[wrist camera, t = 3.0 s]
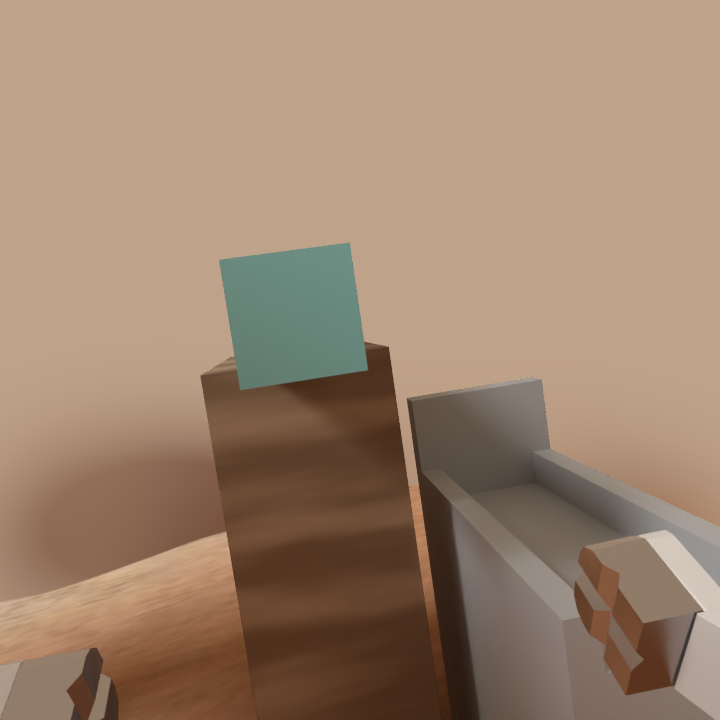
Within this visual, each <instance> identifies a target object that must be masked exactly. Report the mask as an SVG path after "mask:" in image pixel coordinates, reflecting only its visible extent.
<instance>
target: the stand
mask: <svg viewBox="0 0 720 720" xmlns="http://www.w3.org/2000/svg"><path fill="white" fill-rule="evenodd" d="M364 345H365V352H366V359H367V366H368V370H366V371H359V372H353V373H347V374H340V375H334V376H328V377H321V378H315V379H309V380H302V381H296V382H289V383H283V384H277V385H270V386H264V387H258V388H251V389H245V390H240V386H239V379H238V373H237V367H236V361H235V357H231V358H229V359H227V360H226V361H224V362H222V363H221V364H219V365H217V366H216V367H214V368H213V369H211V370H209V371H208V372H206V373H204V374H203V375H201V381H202V387H203V393H204V399H205V405H206V411H207V417H208V423H209V429H210V435H211V441H212V447H213V454H214V459H215V465H216V471H217V478H218V484H219V489H220V495H221V502H222V508H223V514H224V520H225V526H226V532H227V538H228V544H229V550H230V556H231V562H232V568H233V574H234V580H235V586H236V592H237V598H238V604H239V610H240V616H241V622H242V628H243V634H244V640H245V646H246V652H247V658H248V664H249V670H250V676H251V682H252V688H253V694H254V700H255V706H256V712H257V718H258V720H442V719H441V712H440V705H439V698H438V691H437V684H436V677H435V670H434V663H433V656H432V649H431V642H430V635H429V628H428V621H427V614H426V607H425V600H424V592H423V585H422V578H421V571H420V564H419V557H418V550H417V543H416V536H415V529H414V522H413V515H412V508H411V501H410V494H409V487H408V480H407V473H406V465H405V458H404V451H403V445H402V438H401V431H400V423H399V416H398V409H397V402H396V395H395V388H394V382H393V374H392V367H391V360H390V353H389V347H386V346H381V345H377V344H372V343H367V342H364Z"/></svg>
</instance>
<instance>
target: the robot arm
mask: <svg viewBox="0 0 720 720" xmlns="http://www.w3.org/2000/svg"><path fill="white" fill-rule="evenodd" d="M578 563H579V565H580V566H581V568H582V569H583V572H582V573H581V574H580V575H579V576H578V577H577V579H576V580H575V587H574V597H575V602H576V607H577V611H578V613H579V615H580V618H581V620H582V623H583V624H584V626H585V628H586V630H587V631H588V633H589V635H590V636H592V637H593V638H595V639H597V640H598V641H600V642H601V643H603V644H605V651H604V660H605V662H606V664H607V665H608V667H609V669H610V670H611V672H612V674H613V675H614V677H615V679H616V680H617V682H618V684H619V685H620V687H621V689H622V690H623V692H624V694H625V695H626V696H627V695H631V694H636V693H641V692H646V691H651V690H656V689H660V688H665V687H670V686H675V687H674V689H675V690H677V691H678V692H679V693H681V694H682V695H683V696H685V697H686V698H687V699H689V700H690V701H691V702H693V703H694V704H695V705H696V706H698V707H699V708H700V709H702V710H703V711H704V712H706V713H707V714H708V715H710V716H711V717H712V718H714V719H715V720H720V587H719V586H718V584H717V583H716V582H715V581H714V580H713V579H712V578H711V577H710V575H709V574H708V573H707V572H706V571H705V570H704V569H703V568H702V566H701V565H700V564H699V563H698V562H697V561H696V560H695V559H694V557H693V556H692V555H691V554H690V553H689V552H688V551H687V550H686V548H685V547H684V546H683V545H682V544H681V543H680V542H679V541H678V539H677V538H676V537H675V536H674V535H673V534H672V533H670V532H668V531H666V530H662V531H656V532H652V533H647V534H642V535H638V536H629V537H625V538H620V539H616V540H611V541H607V542H602V543H598V544H593V545H588V546H584V547H583V548H582V549H581V551H580V553H579V559H578ZM102 664H103V659H102V657H101V655H100V654H99V652H98V650H97V648H91V649H85V650H80V651H74V652H68V653H63V654H57V655H52V656H46V657H40V658H35V659H29V660H24V661H19V662H13V663H8V664H3V665H0V720H118V698H117V693H116V688H115V686H114V683H113V681H112V679H111V678H110V677H108V676H106V675H104V674H102V673H101V669H102Z"/></svg>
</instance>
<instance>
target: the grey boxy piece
mask: <svg viewBox="0 0 720 720" xmlns="http://www.w3.org/2000/svg"><path fill="white" fill-rule="evenodd" d="M407 403H408V410H409V417H410V424H411V431H412V439H413V446H414V453H415V460H416V467H417V474H418V481H419V489H420V496H421V503H422V510H423V517H424V524H425V531H426V538H427V546H428V553H429V560H430V567H431V574H432V581H433V588H434V595H435V603H436V610H437V617H438V624H439V631H440V638H441V645H442V653H443V660H444V667H445V674H446V681H447V688H448V695H449V702H450V710H451V717H452V720H715V719H714V718H712V717H711V716H710V715H708V714H707V713H706V712H704V711H703V710H702V709H700V708H699V707H698V706H696V705H695V704H694V703H693V702H691V701H690V700H689V699H687V698H686V697H685V696H683V695H682V694H681V693H679V692H678V691H677V690H675V689H674V687H675V686H670V687H665V688H660V689H656V690H651V691H646V692H641V693H636V694H631V695H627V696H626V695H625V694H624V692H623V690H622V689H621V687H620V685H619V684H618V682H617V680H616V679H615V677H614V675H613V674H612V672H611V670H610V669H609V667H608V665H607V664H606V662H605V660H604V651H605V644H603V643H601V642H600V641H598V640H597V639H595V638H593V637H592V636H590V635H589V633H588V631H587V630H586V628H585V626H584V624H583V623H582V620H581V618H580V615H579V613H578V611H577V607H576V602H575V597H574V587H575V580H576V579H577V577H578V576H579V575H580V574H581V573H582V572H583V569H582V568H581V566H580V565H579V563H578V559H579V553H580V551H581V549H582V548H583V547H584V546H588V545H593V544H598V543H602V542H607V541H611V540H616V539H620V538H625V537H629V536H638V535H642V534H647V533H652V532H656V531H662V530H666V531H668V532H670V533H672V534H673V535H674V536H675V537H676V538H677V539H678V541H679V542H680V543H681V544H682V545H683V546H684V547H685V548H686V550H687V551H688V552H689V553H690V554H691V555H692V556H693V557H694V559H695V560H696V561H697V562H698V563H699V564H700V565H701V566H702V568H703V569H704V570H705V571H706V572H707V573H708V574H709V575H710V577H711V578H712V579H713V580H714V581H715V582H716V583H717V584H718V586H719V587H720V527H718V526H716V525H714V524H711V523H710V522H707V521H705V520H703V519H701V518H699V517H697V516H695V515H692V514H690V513H688V512H686V511H684V510H682V509H679V508H677V507H675V506H673V505H671V504H668V503H666V502H664V501H662V500H660V499H658V498H656V497H653V496H651V495H649V494H647V493H645V492H643V491H640V490H638V489H636V488H634V487H632V486H630V485H628V484H625V483H623V482H621V481H619V480H617V479H614V478H612V477H610V476H608V475H605V474H604V473H602V472H599V471H597V470H595V469H593V468H591V467H589V466H586V465H584V464H582V463H580V462H578V461H576V460H573V459H571V458H569V457H567V456H565V455H563V454H561V453H558V452H556V451H554V450H552V449H550V443H549V435H548V427H547V419H546V411H545V403H544V395H543V386H542V380H541V379H536V378H526V379H520V380H514V381H508V382H502V383H496V384H490V385H484V386H478V387H472V388H465V389H459V390H453V391H447V392H441V393H435V394H429V395H423V396H417V397H411V398H407Z"/></svg>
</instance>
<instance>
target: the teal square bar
mask: <svg viewBox="0 0 720 720" xmlns="http://www.w3.org/2000/svg"><path fill="white" fill-rule="evenodd" d="M219 262H220V268H221V274H222V280H223V287H224V293H225V299H226V305H227V311H228V317H229V324H230V330H231V336H232V342H233V348H234V355H235V361H236V367H237V373H238V379H239V386H240V390H245V389H251V388H258V387H264V386H270V385H277V384H283V383H289V382H296V381H302V380H309V379H315V378H321V377H328V376H334V375H340V374H347V373H353V372H359V371H366V370H368V366H367V359H366V352H365V345H364V339H363V332H362V325H361V318H360V311H359V304H358V297H357V290H356V283H355V276H354V269H353V263H352V256H351V249H350V243H344V244H336V245H328V246H321V247H314V248H306V249H298V250H290V251H284V252H275V253H267V254H260V255H252V256H244V257H237V258H229V259H222V260H219Z"/></svg>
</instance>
